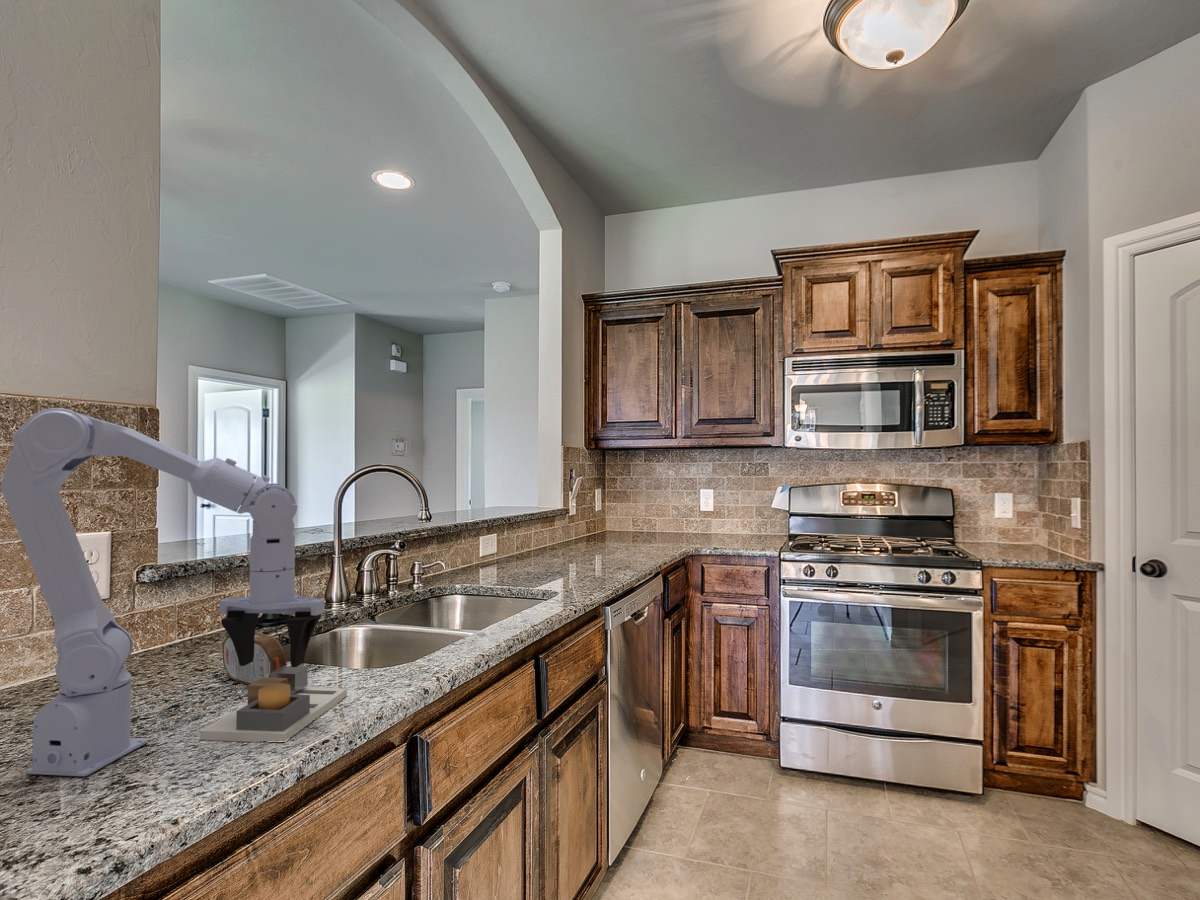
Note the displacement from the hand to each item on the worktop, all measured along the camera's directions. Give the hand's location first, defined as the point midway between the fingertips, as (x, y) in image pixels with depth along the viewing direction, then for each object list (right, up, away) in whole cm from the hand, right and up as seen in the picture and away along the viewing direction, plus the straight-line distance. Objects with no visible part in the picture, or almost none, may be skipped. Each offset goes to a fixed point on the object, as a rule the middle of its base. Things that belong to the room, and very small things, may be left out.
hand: (271, 664), depth 90 cm
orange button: (+1, -5, -2) cm, 6 cm away
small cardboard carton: (-3, -7, +4) cm, 9 cm away
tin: (-12, -9, +17) cm, 23 cm away
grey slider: (-2, -7, +10) cm, 12 cm away
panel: (0, -9, +3) cm, 9 cm away
